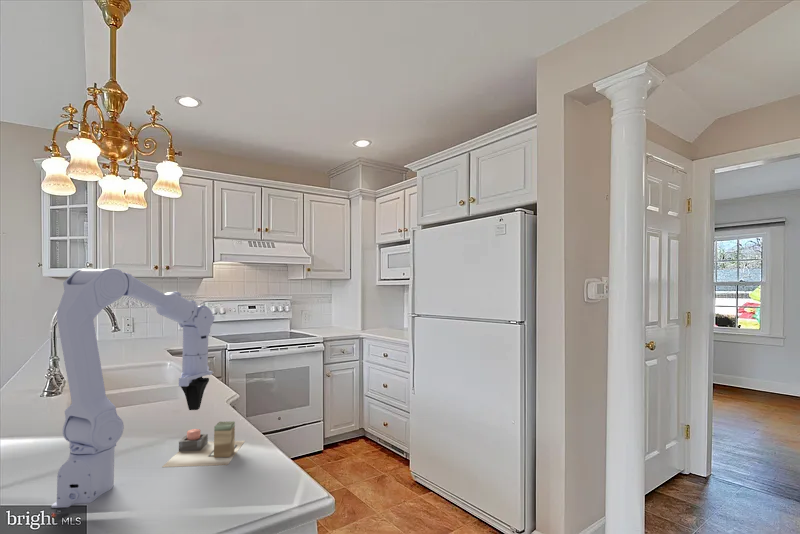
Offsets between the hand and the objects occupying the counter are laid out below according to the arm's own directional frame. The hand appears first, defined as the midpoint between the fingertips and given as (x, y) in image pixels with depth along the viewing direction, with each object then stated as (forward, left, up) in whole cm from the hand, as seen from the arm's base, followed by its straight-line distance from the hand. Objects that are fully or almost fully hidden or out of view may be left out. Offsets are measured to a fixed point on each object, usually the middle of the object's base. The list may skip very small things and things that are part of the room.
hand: (194, 409), depth 108 cm
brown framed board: (-4, -4, -10) cm, 12 cm away
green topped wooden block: (-6, -9, -9) cm, 14 cm away
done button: (0, 0, -8) cm, 8 cm away
